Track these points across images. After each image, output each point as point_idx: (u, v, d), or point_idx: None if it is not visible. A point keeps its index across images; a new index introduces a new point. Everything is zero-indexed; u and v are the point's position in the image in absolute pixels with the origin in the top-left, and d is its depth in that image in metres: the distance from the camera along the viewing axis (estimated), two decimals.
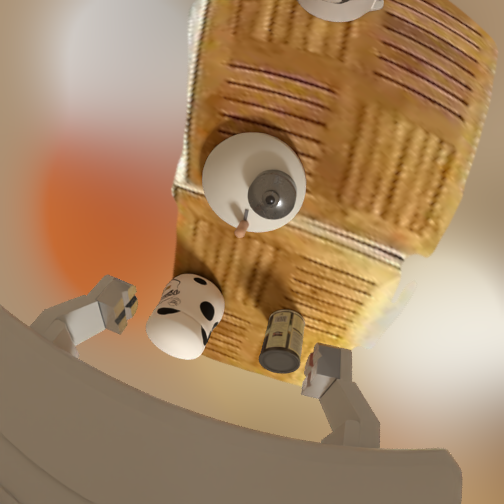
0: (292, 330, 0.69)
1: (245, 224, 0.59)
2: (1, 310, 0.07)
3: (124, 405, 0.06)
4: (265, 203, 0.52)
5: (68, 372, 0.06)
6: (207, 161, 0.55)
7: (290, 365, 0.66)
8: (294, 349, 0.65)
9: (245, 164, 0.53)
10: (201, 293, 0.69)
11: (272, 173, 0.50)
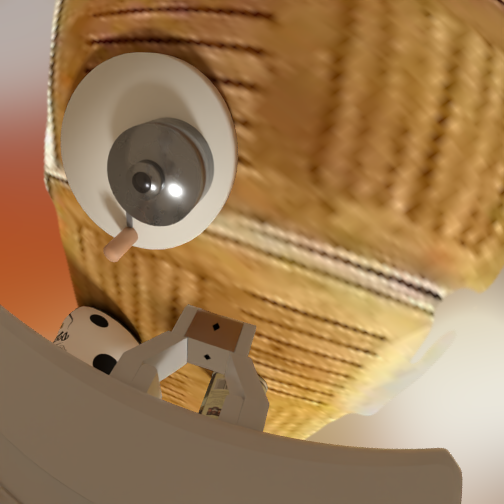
0: None
1: (125, 236, 0.28)
2: (1, 310, 0.07)
3: (124, 405, 0.06)
4: (134, 191, 0.21)
5: (69, 372, 0.06)
6: (63, 125, 0.24)
7: None
8: None
9: (114, 117, 0.23)
10: (96, 341, 0.38)
11: (147, 122, 0.20)
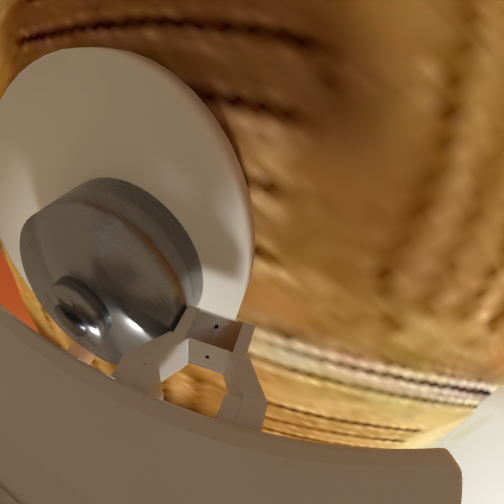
0: None
1: None
2: (1, 310, 0.07)
3: (124, 405, 0.06)
4: (65, 327, 0.10)
5: (69, 372, 0.06)
6: None
7: None
8: None
9: (38, 171, 0.12)
10: None
11: (63, 202, 0.09)
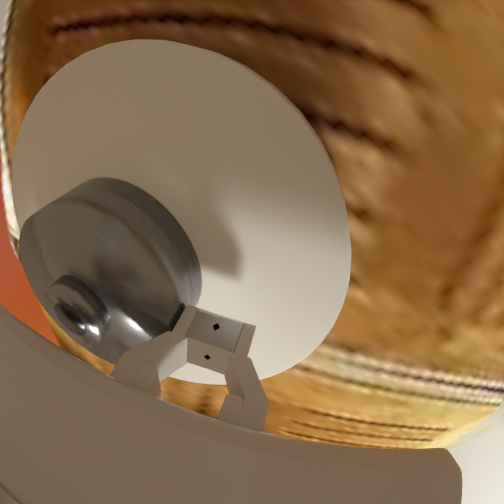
0: None
1: None
2: (1, 310, 0.07)
3: (124, 405, 0.06)
4: (64, 326, 0.11)
5: (69, 372, 0.06)
6: (14, 182, 0.13)
7: None
8: None
9: None
10: None
11: (62, 201, 0.09)
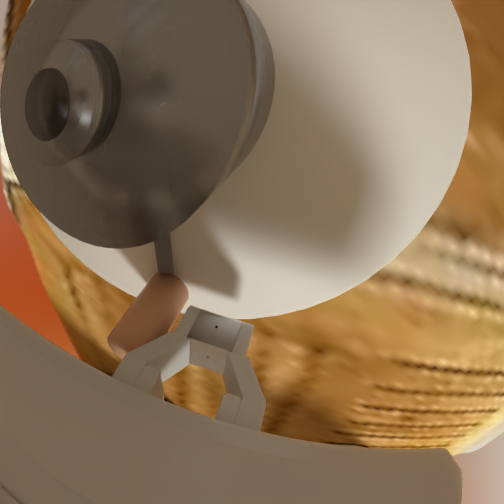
0: None
1: (160, 300, 0.11)
2: (1, 310, 0.07)
3: (124, 405, 0.06)
4: (34, 143, 0.05)
5: (68, 371, 0.06)
6: None
7: None
8: None
9: None
10: None
11: None
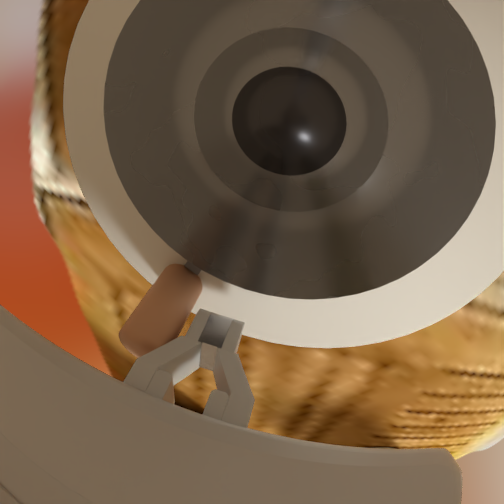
0: None
1: (184, 301, 0.11)
2: (1, 310, 0.07)
3: (124, 405, 0.06)
4: (220, 139, 0.05)
5: (68, 371, 0.06)
6: None
7: None
8: None
9: None
10: None
11: None
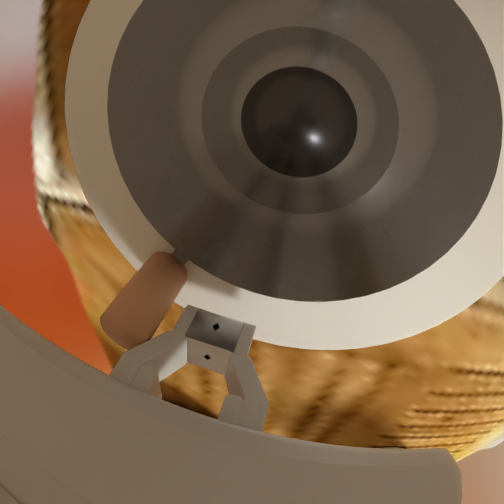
0: None
1: (168, 290, 0.11)
2: (1, 310, 0.07)
3: (124, 405, 0.06)
4: (226, 132, 0.04)
5: (69, 372, 0.06)
6: None
7: None
8: None
9: None
10: None
11: None
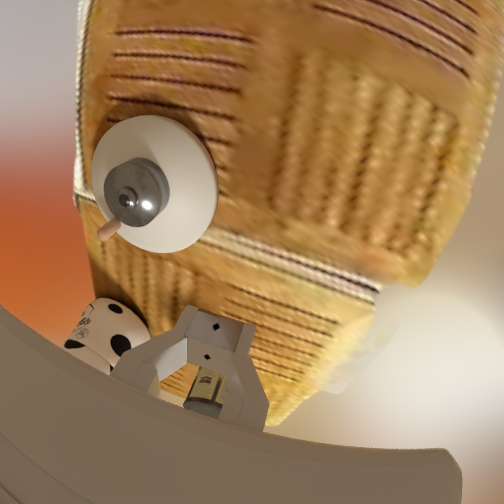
0: None
1: (114, 227, 0.40)
2: (1, 310, 0.07)
3: (124, 405, 0.06)
4: (117, 200, 0.34)
5: (69, 372, 0.06)
6: (112, 129, 0.33)
7: None
8: None
9: None
10: (113, 324, 0.51)
11: (145, 169, 0.33)
